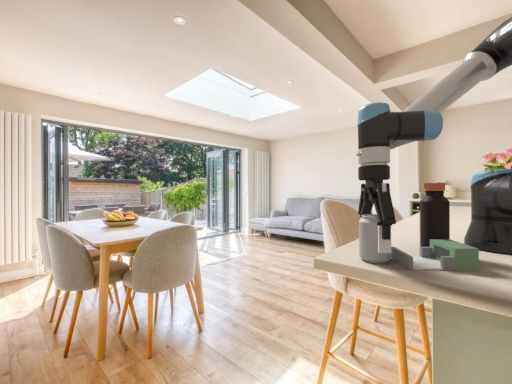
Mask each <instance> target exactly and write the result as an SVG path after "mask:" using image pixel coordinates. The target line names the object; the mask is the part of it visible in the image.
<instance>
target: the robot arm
mask: <svg viewBox="0 0 512 384" xmlns="http://www.w3.org/2000/svg"><path fill="white" fill-rule="evenodd" d="M510 66H512V16H510V17H509V18H508V19H506V20H504V21H503V22H502V23H501V24H500V25H498V26H497V27H496V28H495V29H494V30H492V32H491V33H489V35H487V36H486V37H485V39H483V40H482V41H481V42H480V43H479V44H478V45H477V46H476V47H475V48H473V50H471V51H470V52H469V53H468V54H467V55H465V56H464V57H463V60H462V63H460V64H459V65H458V66H457V67H456V68H455V69H453V70H451V71H450V73H449V74H447V75H446V76H444V77H443V78H442V79H441V80H439V82H437V83H436V84H435V85H433V86H432V87H431V88H430V89H428V90H427V91H426V92H425V93H424V94H422V95H421V96H420V97H418V98H417V99H416V100H414V101H413V102H412V103H411V104H410V105H408V106H407V107H406V108H404V110H402V111H391V108H390V107H391V106H390V104H389V103H387V102H382V101H381V102H371V103H368V104H364V105H363V106H362V107H360V108H359V109H358V114H357V124H356V125H357V126H356V127H357V140H358V141H357V143H358V144H357V145H358V149H357V152H356V157H358V158H357V159H358V160H357V162H358V164H359V165H360V166H359V167H358V168H357V171H358V173H357V174H358V180H359V181H365V183H361V184H360V194H359V204H358V211H357V214H358V215H359V217H360V218H362V216H361V215H365V214H372V212H373V211H372V210H373V207H374V209H375V214H377V216H378V220H379V222H378V223H377V226H378V252H379V253H391V247H392V226H393V225H396V224H397V220H396V215H395V210H394V206H393V201H392V196H391V188H390V183H389V182H387V183H386V182H385V183H384V181H387V180H390V179H391V166H390V165H389V164H390V163H391V150H394V149H396V148H398V147H402V146H405V145H407V144H410V143H413V142H426V141H433V140H436V139H437V138H438V137H439V136H440V135H441V134H442V131H443V127H444V119H443V115H442V114H441V113H443V112H444V111H445V110H447V108H449V107H450V106H451V105H453V104H454V103H455V102H457V101H458V100H459V99H460V98H462V97H463V96H465V94H467V93H468V92H469V91H471V90H472V89H473V88H475V87H476V86H477V85H478V84H479V83H481V82H485V81H488V80H490V79H491V78H493V77H494V76H496V75H497V74H498V73H499V72H501V71H503V70H505V69H507V68H510ZM470 182H471V183H470V191H471V192H470V195H471V196H470V200H471V201H470V206H471V207H470V208H471V209H470V210H471V211H470V212H471V213H470V214H471V215H470V217H471V218H470V219H471V221H470V223H469V226H468V228H467V230H466V232H465V235H464V238H463V244H466V245H469V246H472V247H475V248H478V249H479V251H484V252H490V253H498V254H509V255H510V254H511V255H512V167H511V168H501V169H500V168H499V169H492V170H484V171H479V172H476V173H475V174H473V175H472V177H471V181H470Z"/></svg>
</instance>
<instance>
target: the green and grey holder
mask: <svg viewBox="0 0 512 384" xmlns="http://www.w3.org/2000/svg"><path fill="white" fill-rule="evenodd" d="M479 255H480V250H479V249H478V248H475V247H472V246H469V245H466V244H464V242H463V243H462V242H458V241H456V240H453V239H430V247H420V246H419V256H416V255H415V256H413V255H410V254H408V253H407V252H404V251H403V250H401V249H400V248H398V247H396V246H391V259H392V260H393V261H395V262H396V263H398V264H400V265H401V266H402V267H403V268H405V269H406V270H409V271H464V272H465V271H471V272H472V271H473V272H474V271H476V272H477V271H478V272H479V271H480V270H479V269H480V267H479V266H480V262H479V261H480V260H479V259H480V258H479Z"/></svg>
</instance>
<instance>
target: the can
mask: <svg viewBox="0 0 512 384" xmlns="http://www.w3.org/2000/svg"><path fill="white" fill-rule="evenodd" d="M361 216H362V217H360V219H359V220H358V247H359V248H358V253H359V254H358V255H359V257H360V258H361V259H362V261H364V262H367V263H371V264H385V263H388V262H389V261H390V260H391V259H392V258H391V253H379V252H378V226H377V223H378V222H379V220H378V216H377V213H371V214H365V215H361Z"/></svg>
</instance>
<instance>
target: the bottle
mask: <svg viewBox="0 0 512 384" xmlns="http://www.w3.org/2000/svg"><path fill="white" fill-rule="evenodd" d="M423 192H424V193H425V194H424V196H423V197H422V198H421V199H420V201H419V244H420V245H419V248H420V247H430V239H450V238H451V236H450V235H451V233H450V229H451V228H450V227H451V226H450V225H451V224H450V216H451V215H450V205H451V204H450V200H449V199H448V198H447V197H446V196H445V192H446V183H445V182H424V183H423ZM450 240H451V239H450Z"/></svg>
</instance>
